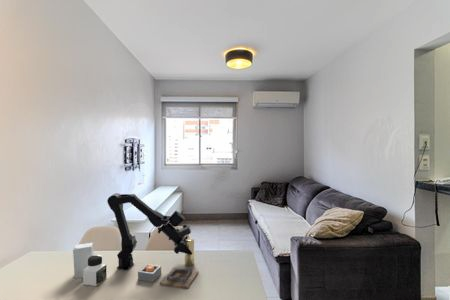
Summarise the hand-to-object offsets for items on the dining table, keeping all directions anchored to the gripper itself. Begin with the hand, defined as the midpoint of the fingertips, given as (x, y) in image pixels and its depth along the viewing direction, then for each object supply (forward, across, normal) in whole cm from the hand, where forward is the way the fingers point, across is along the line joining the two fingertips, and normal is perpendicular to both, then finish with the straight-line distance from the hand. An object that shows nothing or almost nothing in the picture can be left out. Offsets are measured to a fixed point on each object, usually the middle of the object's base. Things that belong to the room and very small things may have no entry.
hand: (192, 251), depth 135 cm
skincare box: (-33, -6, +42) cm, 54 cm away
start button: (-11, -12, +18) cm, 24 cm away
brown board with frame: (+1, -14, +8) cm, 17 cm away
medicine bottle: (-27, -13, +37) cm, 48 cm away
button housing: (-10, -12, +19) cm, 24 cm away
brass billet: (+4, 0, +6) cm, 7 cm away
